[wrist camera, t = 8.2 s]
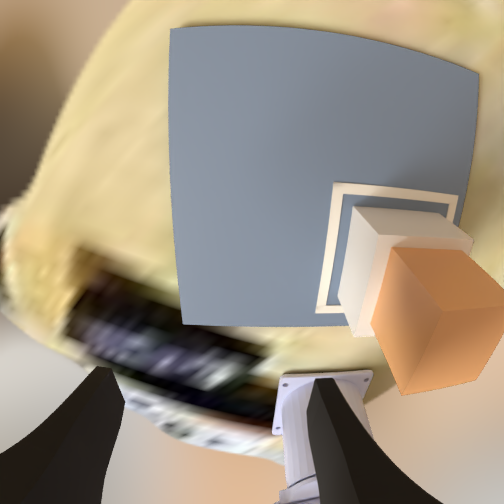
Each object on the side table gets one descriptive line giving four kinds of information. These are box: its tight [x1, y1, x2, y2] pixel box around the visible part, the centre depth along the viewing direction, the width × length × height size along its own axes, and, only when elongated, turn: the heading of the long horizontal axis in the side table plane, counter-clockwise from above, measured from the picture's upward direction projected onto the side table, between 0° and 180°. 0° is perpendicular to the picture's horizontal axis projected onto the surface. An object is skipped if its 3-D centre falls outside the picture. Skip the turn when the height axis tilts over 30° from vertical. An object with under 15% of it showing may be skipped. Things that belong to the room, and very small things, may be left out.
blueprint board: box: [168, 25, 479, 327], centre depth 17 cm, size 18×18×1 cm
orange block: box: [370, 247, 504, 395], centre depth 12 cm, size 4×4×5 cm
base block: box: [338, 206, 474, 337], centre depth 16 cm, size 6×6×4 cm
